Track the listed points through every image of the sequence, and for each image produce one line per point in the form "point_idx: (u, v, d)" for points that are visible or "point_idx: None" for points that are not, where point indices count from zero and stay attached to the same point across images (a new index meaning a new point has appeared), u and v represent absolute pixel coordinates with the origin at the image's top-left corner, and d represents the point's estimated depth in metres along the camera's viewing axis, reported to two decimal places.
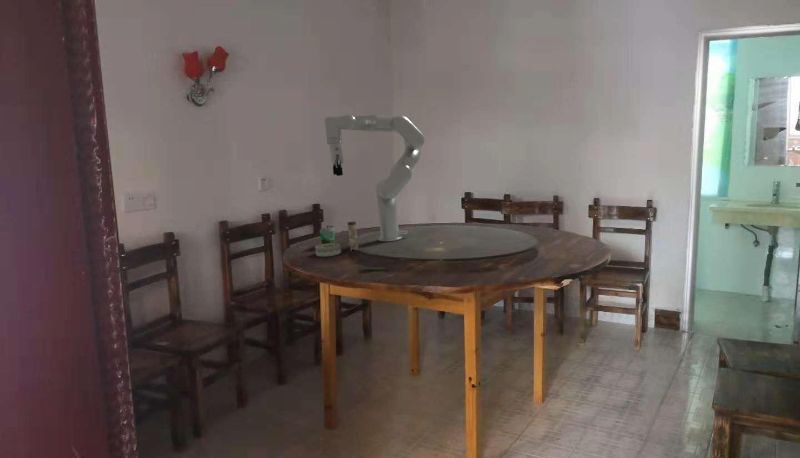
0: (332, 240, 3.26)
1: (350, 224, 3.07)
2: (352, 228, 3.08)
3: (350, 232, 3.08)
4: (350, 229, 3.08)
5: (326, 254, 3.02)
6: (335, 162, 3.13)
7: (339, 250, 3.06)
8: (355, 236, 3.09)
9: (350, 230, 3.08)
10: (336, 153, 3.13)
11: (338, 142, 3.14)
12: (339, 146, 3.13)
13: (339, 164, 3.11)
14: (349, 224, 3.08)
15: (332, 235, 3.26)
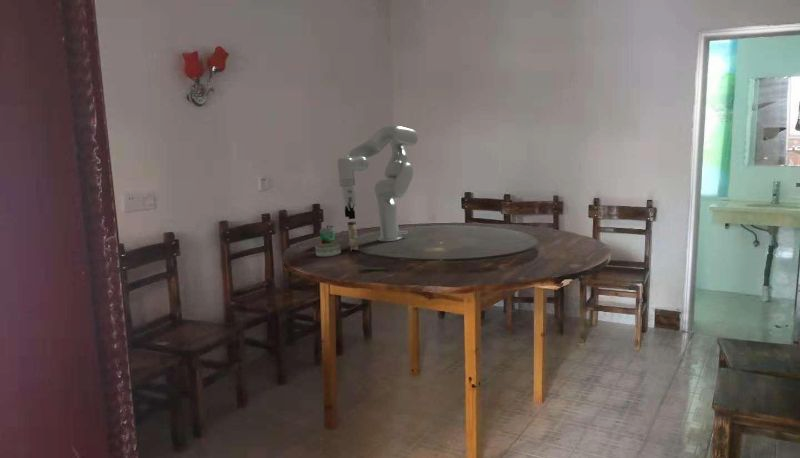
0: (332, 240, 3.26)
1: (350, 224, 3.07)
2: (352, 228, 3.08)
3: (350, 232, 3.08)
4: (350, 229, 3.08)
5: (326, 254, 3.02)
6: (347, 205, 3.03)
7: (339, 250, 3.06)
8: (355, 236, 3.09)
9: (350, 230, 3.08)
10: (349, 196, 3.02)
11: (351, 184, 3.03)
12: (352, 188, 3.02)
13: (352, 207, 3.00)
14: (349, 224, 3.08)
15: (332, 235, 3.26)
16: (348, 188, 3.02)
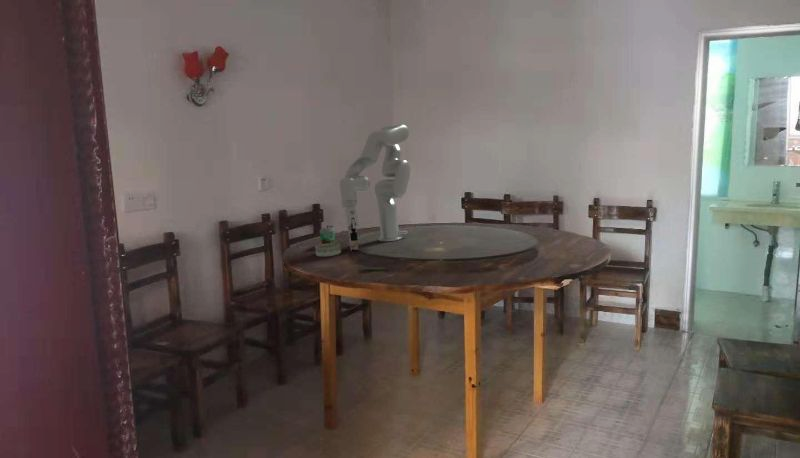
0: (332, 240, 3.26)
1: None
2: None
3: (350, 232, 3.08)
4: None
5: (326, 254, 3.02)
6: (350, 227, 3.06)
7: (339, 250, 3.06)
8: None
9: None
10: (351, 216, 3.04)
11: (353, 205, 3.05)
12: (354, 209, 3.04)
13: (354, 230, 3.05)
14: None
15: (332, 235, 3.26)
16: (351, 209, 3.03)
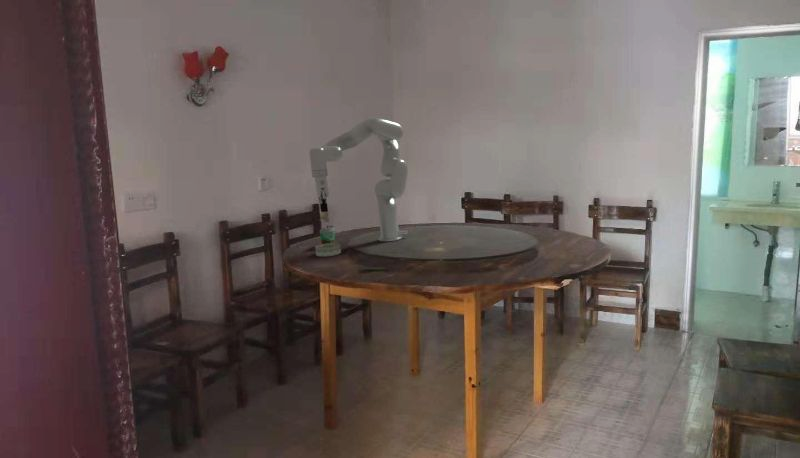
0: (332, 240, 3.26)
1: None
2: None
3: (320, 203, 3.03)
4: None
5: (326, 254, 3.02)
6: (320, 198, 3.00)
7: (339, 250, 3.06)
8: None
9: (320, 201, 3.02)
10: (321, 186, 2.98)
11: (323, 175, 2.99)
12: (324, 179, 2.98)
13: (324, 200, 2.99)
14: None
15: (332, 235, 3.26)
16: (320, 179, 2.98)
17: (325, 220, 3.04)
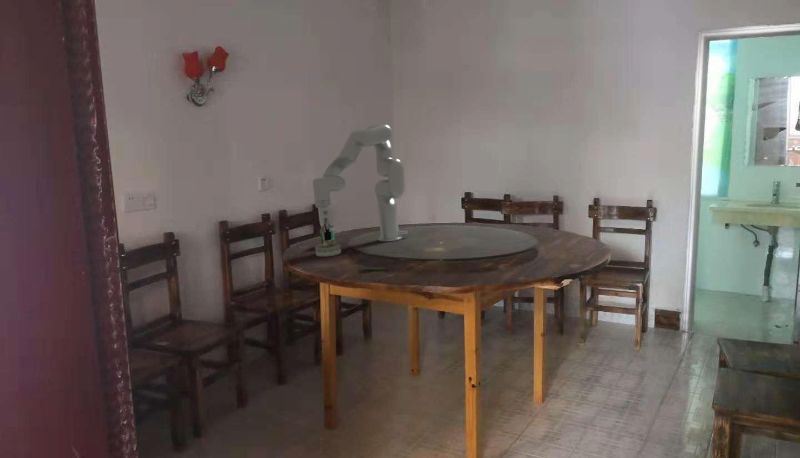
0: (332, 240, 3.26)
1: None
2: None
3: None
4: None
5: (326, 254, 3.02)
6: (323, 226, 3.02)
7: (339, 250, 3.06)
8: None
9: None
10: (324, 217, 3.00)
11: (326, 205, 3.01)
12: (327, 209, 3.01)
13: (327, 229, 3.00)
14: None
15: (332, 235, 3.26)
16: (324, 209, 3.00)
17: None
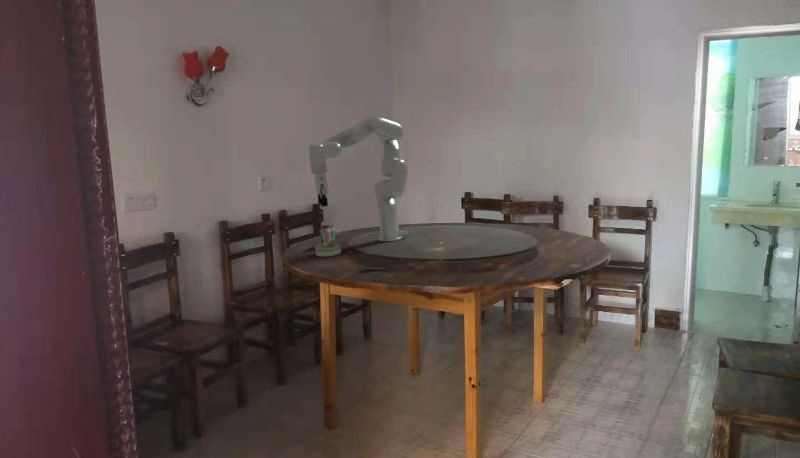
0: (332, 240, 3.26)
1: (324, 227, 3.04)
2: (326, 231, 3.05)
3: (324, 235, 3.05)
4: (324, 232, 3.05)
5: (326, 254, 3.02)
6: (320, 192, 2.99)
7: (339, 250, 3.06)
8: (329, 240, 3.06)
9: (324, 233, 3.05)
10: (321, 183, 2.98)
11: (323, 171, 2.99)
12: (324, 175, 2.98)
13: (324, 194, 2.96)
14: (323, 227, 3.05)
15: (332, 235, 3.26)
16: (320, 175, 2.98)
17: None
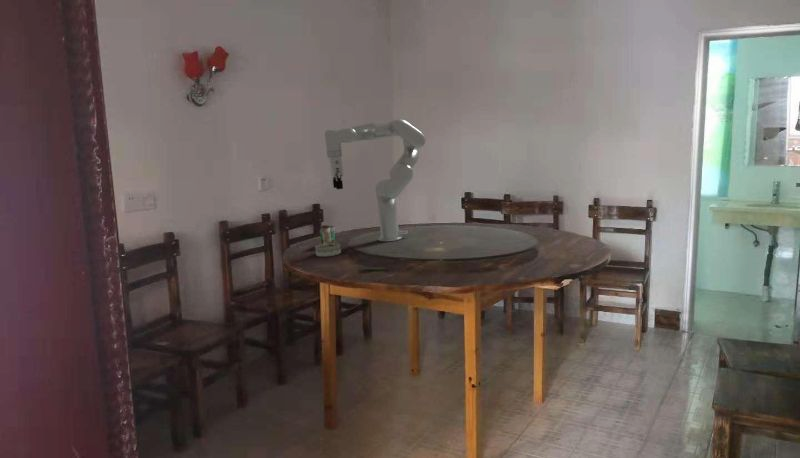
0: (332, 240, 3.26)
1: (324, 227, 3.04)
2: (326, 231, 3.05)
3: (324, 235, 3.05)
4: (324, 232, 3.05)
5: (326, 254, 3.02)
6: (335, 175, 3.11)
7: (339, 250, 3.06)
8: (329, 240, 3.06)
9: (324, 233, 3.05)
10: (336, 166, 3.10)
11: (338, 155, 3.11)
12: (339, 159, 3.11)
13: (339, 178, 3.09)
14: (323, 227, 3.05)
15: (332, 235, 3.26)
16: (335, 159, 3.10)
17: None
